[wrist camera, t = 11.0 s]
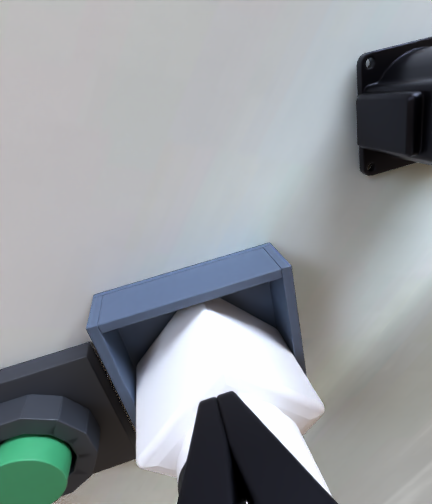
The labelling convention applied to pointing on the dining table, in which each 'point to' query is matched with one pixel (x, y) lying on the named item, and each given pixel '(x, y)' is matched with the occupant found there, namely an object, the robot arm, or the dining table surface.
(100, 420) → the control panel
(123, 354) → the blue-grey tray
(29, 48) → the dining table surface
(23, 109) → the dining table surface
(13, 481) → the button
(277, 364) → the medicine bottle
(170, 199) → the dining table surface
